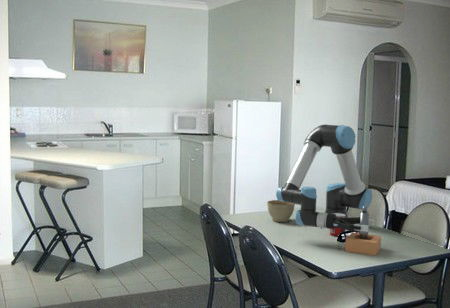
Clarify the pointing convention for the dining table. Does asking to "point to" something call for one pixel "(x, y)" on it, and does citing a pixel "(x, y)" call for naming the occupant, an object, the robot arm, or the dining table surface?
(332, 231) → the canned food
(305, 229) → the dining table surface
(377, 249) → the hollowed wooden tray
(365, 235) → the slim metal bottle
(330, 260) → the dining table surface
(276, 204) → the planter bowl
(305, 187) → the robot arm
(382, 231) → the dining table surface
